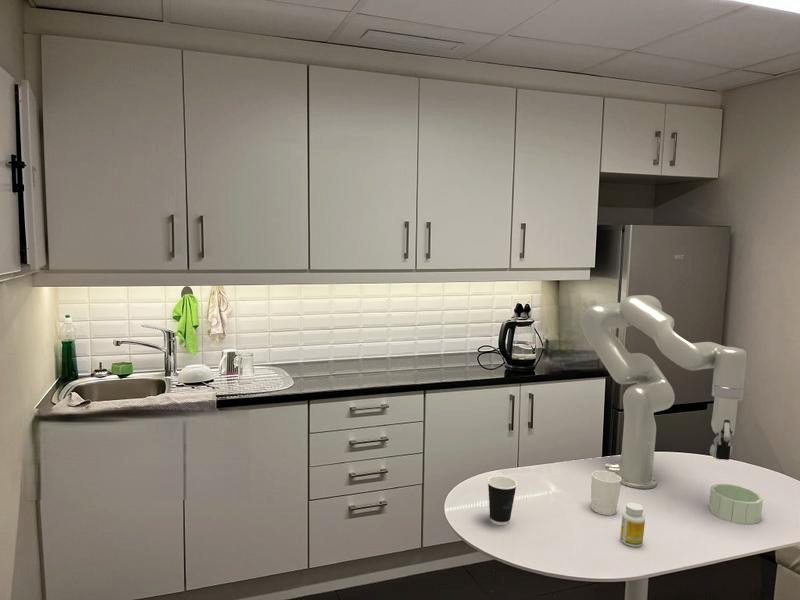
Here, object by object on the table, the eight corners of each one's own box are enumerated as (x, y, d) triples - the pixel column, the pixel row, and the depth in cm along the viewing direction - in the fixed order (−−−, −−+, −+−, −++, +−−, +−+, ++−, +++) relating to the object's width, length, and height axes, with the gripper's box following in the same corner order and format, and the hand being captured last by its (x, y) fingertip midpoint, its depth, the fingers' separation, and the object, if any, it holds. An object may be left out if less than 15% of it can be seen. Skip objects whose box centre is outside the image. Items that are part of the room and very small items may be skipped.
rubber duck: (703, 455, 169) (706, 428, 168) (723, 454, 170) (726, 427, 170) (717, 462, 164) (720, 434, 163) (738, 461, 165) (741, 433, 164)
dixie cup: (512, 530, 155) (515, 490, 154) (482, 525, 157) (484, 485, 156) (516, 517, 162) (519, 478, 161) (487, 512, 165) (489, 473, 163)
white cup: (619, 507, 171) (622, 474, 170) (617, 519, 164) (620, 484, 163) (590, 501, 174) (593, 468, 173) (587, 512, 167) (590, 478, 166)
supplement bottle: (615, 539, 153) (618, 503, 152) (630, 535, 155) (634, 499, 154) (631, 549, 148) (635, 512, 147) (647, 545, 150) (650, 509, 149)
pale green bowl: (712, 518, 166) (714, 497, 166) (706, 500, 178) (708, 480, 178) (764, 527, 162) (766, 506, 162) (754, 508, 174) (756, 488, 173)
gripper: (709, 383, 174) (703, 443, 176) (715, 397, 158) (709, 463, 160) (738, 386, 171) (732, 448, 173) (747, 401, 156) (740, 468, 158)
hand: (721, 454), depth 167 cm, fingers closed on rubber duck, 5 cm apart
